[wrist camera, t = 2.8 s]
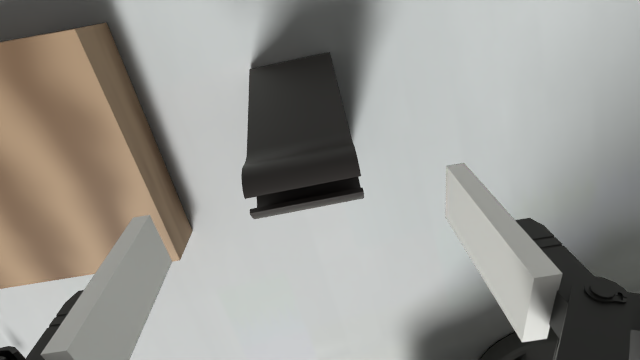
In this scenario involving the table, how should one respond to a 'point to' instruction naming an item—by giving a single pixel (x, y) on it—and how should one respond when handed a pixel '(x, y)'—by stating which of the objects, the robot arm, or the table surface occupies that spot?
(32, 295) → the table surface
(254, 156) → the phone stand
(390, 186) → the table surface
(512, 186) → the table surface
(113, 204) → the wooden board
